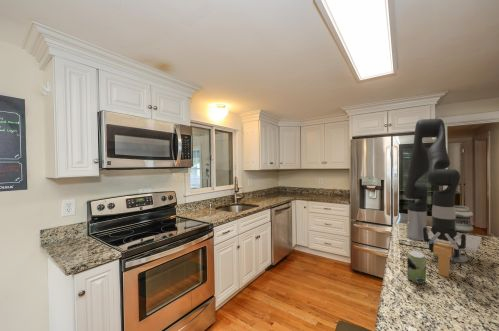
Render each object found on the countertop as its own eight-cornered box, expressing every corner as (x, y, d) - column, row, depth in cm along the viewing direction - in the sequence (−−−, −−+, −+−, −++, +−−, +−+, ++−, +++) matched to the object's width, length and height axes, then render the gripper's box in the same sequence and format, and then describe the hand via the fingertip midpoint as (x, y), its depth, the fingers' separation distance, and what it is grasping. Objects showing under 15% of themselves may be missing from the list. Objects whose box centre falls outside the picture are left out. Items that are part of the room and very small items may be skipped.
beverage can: (422, 277, 93) (421, 249, 93) (429, 287, 87) (429, 256, 86) (404, 275, 96) (404, 247, 95) (410, 285, 89) (410, 255, 88)
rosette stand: (423, 260, 108) (422, 234, 108) (433, 248, 121) (433, 225, 120) (476, 274, 94) (476, 245, 94) (481, 259, 107) (481, 233, 106)
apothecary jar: (450, 237, 135) (449, 208, 135) (444, 231, 146) (443, 204, 145) (477, 240, 130) (477, 209, 129) (468, 233, 140) (468, 205, 140)
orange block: (433, 274, 96) (433, 246, 95) (437, 268, 100) (437, 242, 100) (451, 279, 92) (450, 250, 91) (454, 273, 96) (454, 245, 96)
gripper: (420, 214, 98) (420, 252, 99) (465, 221, 87) (465, 263, 88) (424, 211, 103) (425, 247, 104) (468, 217, 92) (468, 257, 93)
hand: (443, 254), depth 96 cm, fingers open, 7 cm apart
